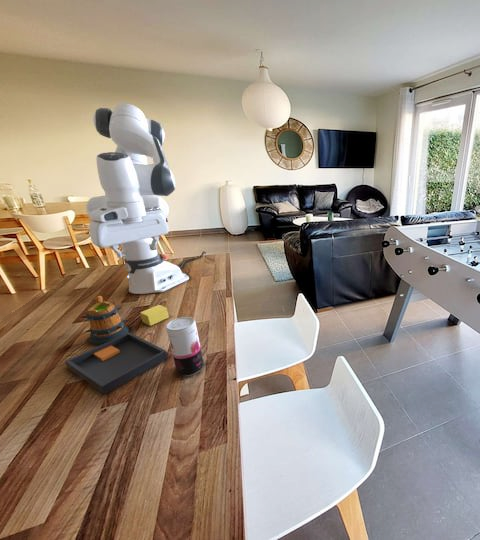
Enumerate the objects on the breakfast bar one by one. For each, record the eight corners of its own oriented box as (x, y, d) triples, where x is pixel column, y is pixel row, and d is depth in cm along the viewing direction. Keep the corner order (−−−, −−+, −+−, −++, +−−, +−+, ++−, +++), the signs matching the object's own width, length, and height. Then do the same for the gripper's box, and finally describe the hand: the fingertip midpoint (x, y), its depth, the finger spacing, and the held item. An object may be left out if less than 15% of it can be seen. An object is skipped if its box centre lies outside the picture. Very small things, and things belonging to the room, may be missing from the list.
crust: (112, 347, 86) (111, 345, 85) (120, 352, 84) (119, 349, 84) (94, 356, 82) (93, 353, 82) (102, 361, 80) (101, 358, 80)
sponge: (161, 314, 105) (159, 304, 103) (169, 317, 103) (166, 307, 102) (142, 322, 99) (139, 312, 98) (150, 326, 98) (147, 315, 96)
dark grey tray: (131, 338, 91) (129, 332, 90) (168, 357, 84) (166, 350, 83) (67, 368, 78) (64, 361, 77) (104, 394, 71) (101, 386, 70)
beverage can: (207, 369, 80) (198, 323, 74) (181, 381, 76) (169, 333, 70) (199, 357, 84) (190, 313, 79) (174, 368, 80) (162, 322, 74)
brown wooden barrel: (132, 336, 92) (123, 305, 88) (90, 349, 85) (77, 316, 81) (126, 319, 100) (117, 290, 96) (87, 330, 94) (75, 299, 89)
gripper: (156, 204, 97) (165, 243, 102) (80, 214, 79) (95, 260, 85) (168, 206, 94) (176, 246, 99) (92, 217, 77) (107, 264, 82)
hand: (138, 253), depth 92 cm, fingers open, 8 cm apart
